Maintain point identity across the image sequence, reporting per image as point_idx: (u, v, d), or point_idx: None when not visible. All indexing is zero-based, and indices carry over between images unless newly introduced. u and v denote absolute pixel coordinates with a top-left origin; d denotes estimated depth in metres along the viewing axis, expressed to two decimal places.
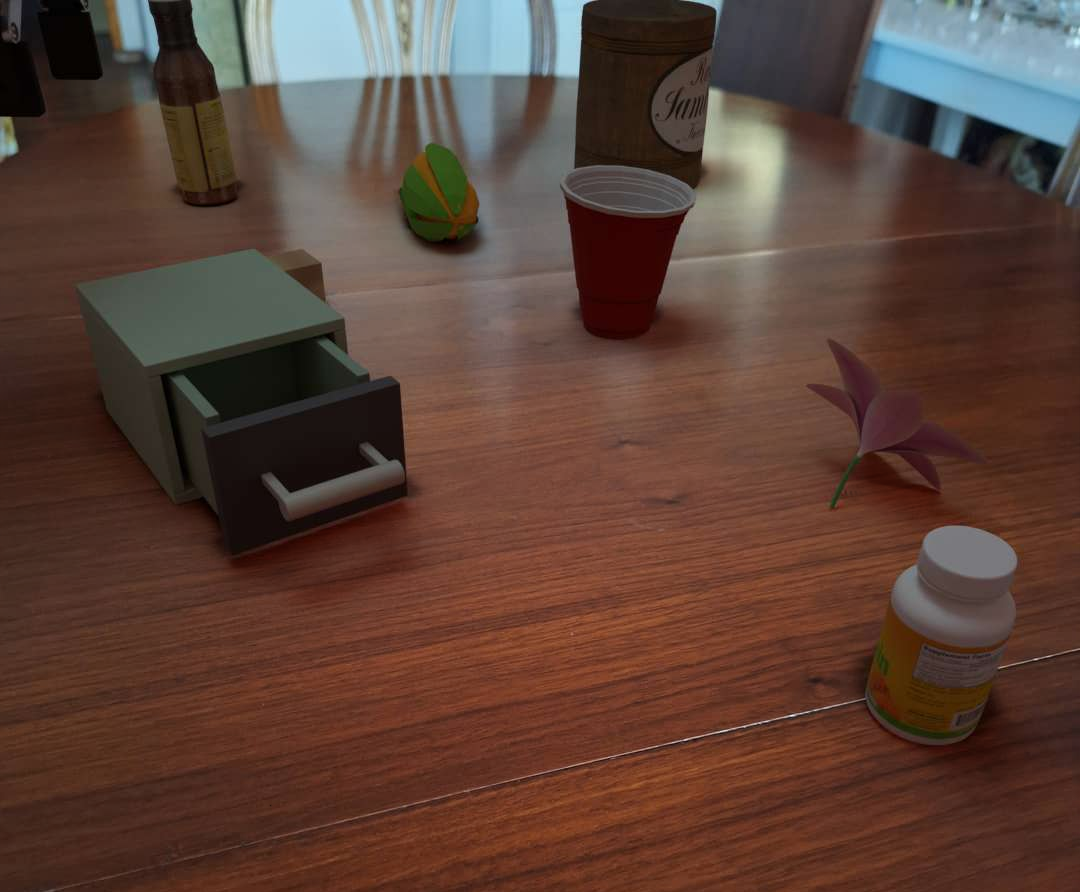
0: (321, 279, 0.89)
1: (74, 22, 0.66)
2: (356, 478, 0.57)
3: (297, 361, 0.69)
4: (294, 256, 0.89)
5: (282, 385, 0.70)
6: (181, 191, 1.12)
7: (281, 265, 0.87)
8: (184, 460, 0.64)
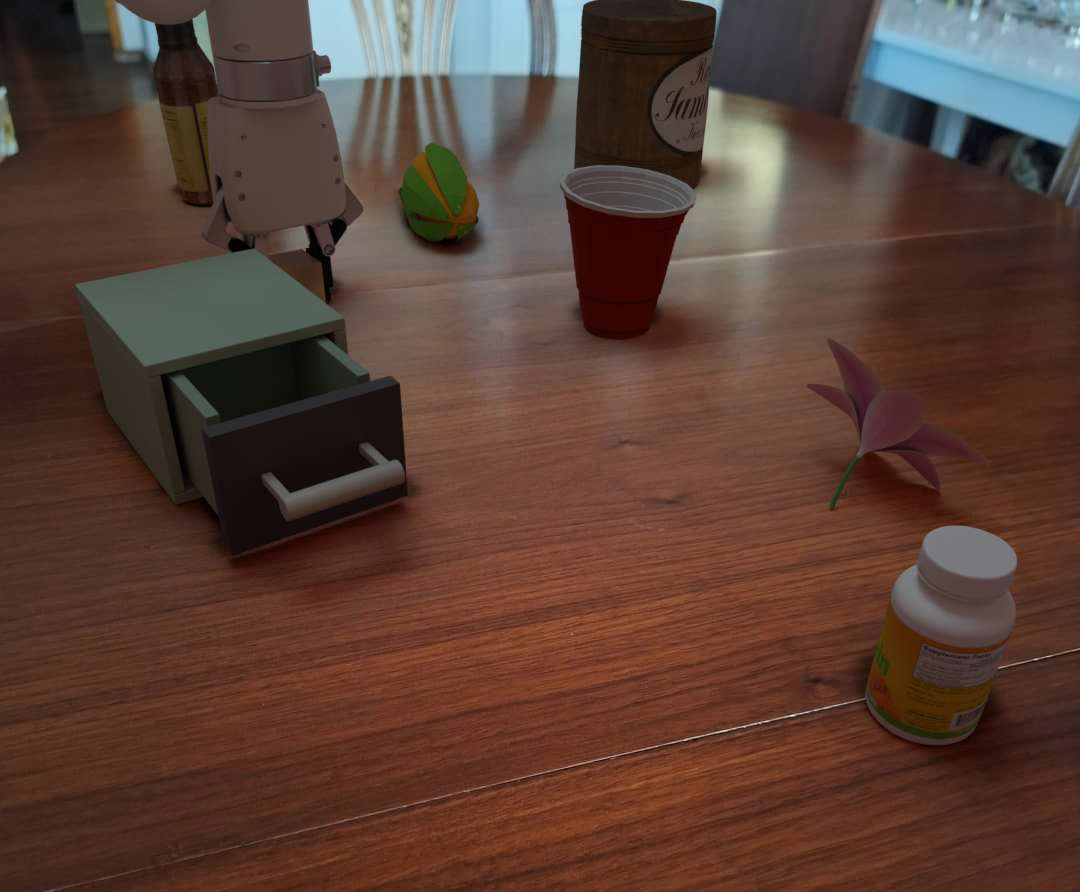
0: (321, 279, 0.89)
1: None
2: (356, 478, 0.57)
3: (297, 361, 0.69)
4: (294, 257, 0.89)
5: (282, 385, 0.70)
6: (181, 191, 1.12)
7: (281, 265, 0.87)
8: (184, 460, 0.64)
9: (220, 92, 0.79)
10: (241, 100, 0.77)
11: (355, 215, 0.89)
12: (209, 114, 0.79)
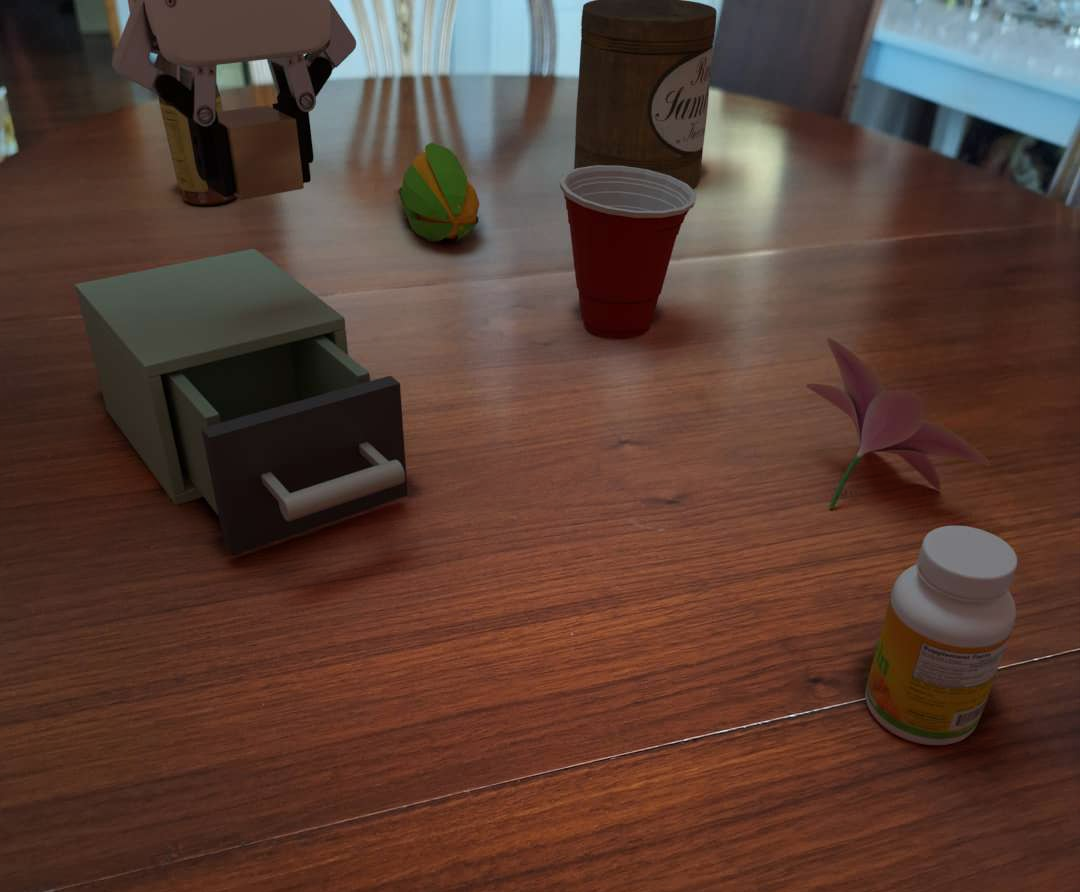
0: (296, 145, 0.60)
1: None
2: (356, 478, 0.57)
3: (297, 361, 0.69)
4: (256, 113, 0.61)
5: (282, 385, 0.70)
6: (181, 191, 1.12)
7: (236, 121, 0.59)
8: (184, 460, 0.64)
9: None
10: None
11: (345, 52, 0.61)
12: None
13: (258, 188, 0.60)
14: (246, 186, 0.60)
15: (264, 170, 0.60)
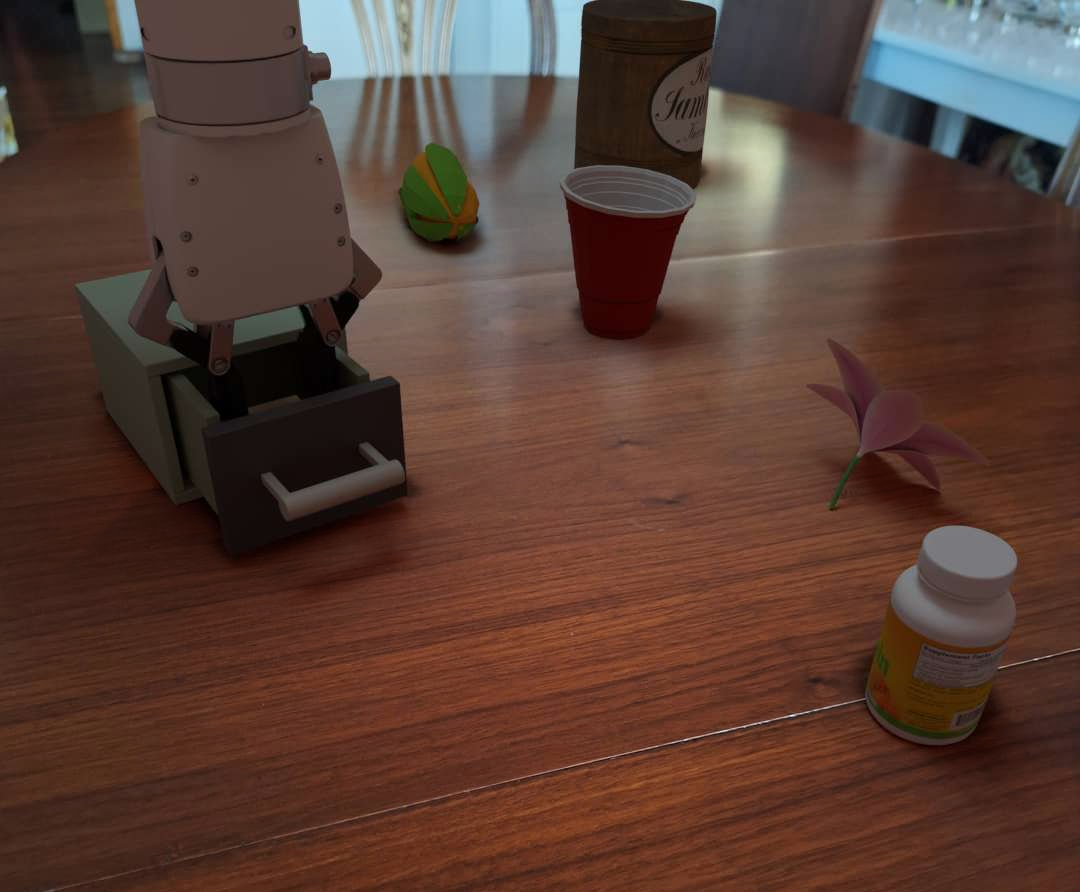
0: None
1: (313, 355, 0.60)
2: (356, 478, 0.57)
3: (297, 361, 0.69)
4: None
5: (282, 384, 0.70)
6: None
7: None
8: (184, 460, 0.64)
9: (157, 110, 0.50)
10: (189, 123, 0.49)
11: (371, 284, 0.61)
12: (141, 144, 0.51)
13: None
14: None
15: None
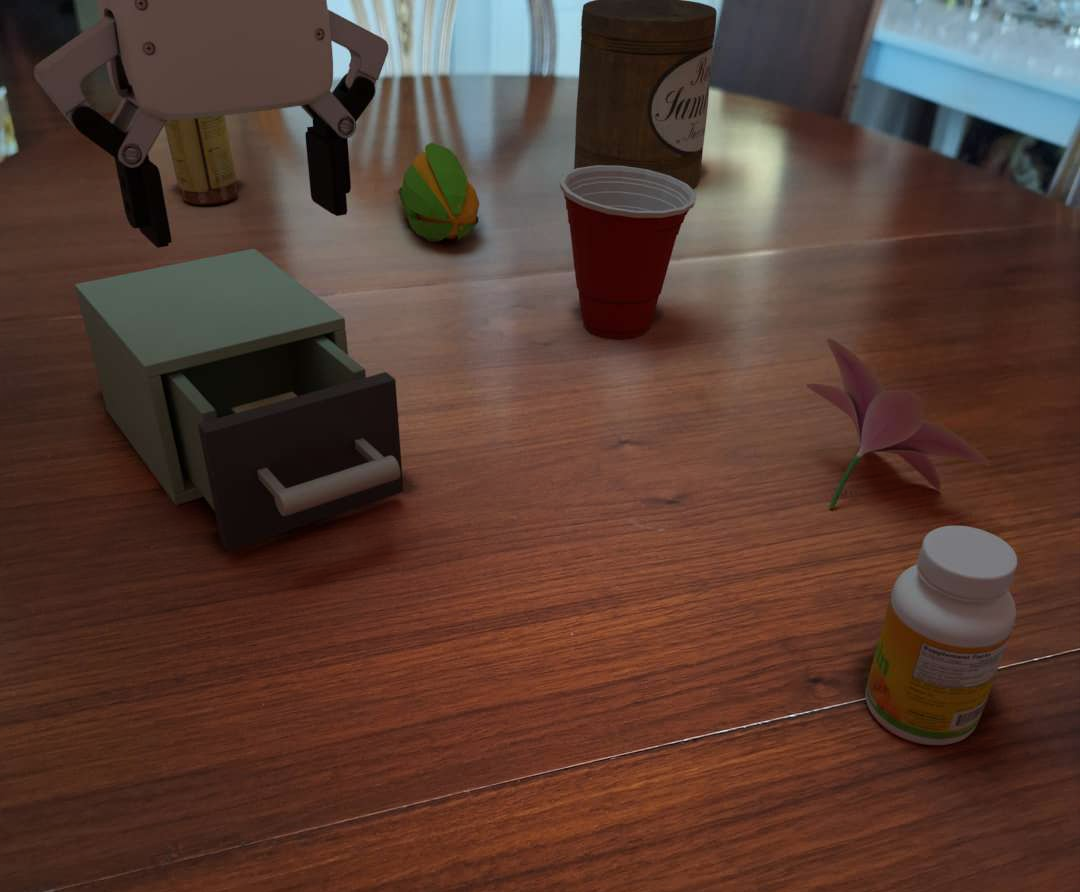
0: None
1: (323, 148, 0.55)
2: (351, 474, 0.57)
3: (294, 358, 0.69)
4: None
5: (279, 381, 0.70)
6: (181, 191, 1.12)
7: None
8: (181, 456, 0.65)
9: None
10: None
11: (380, 59, 0.54)
12: None
13: None
14: None
15: None
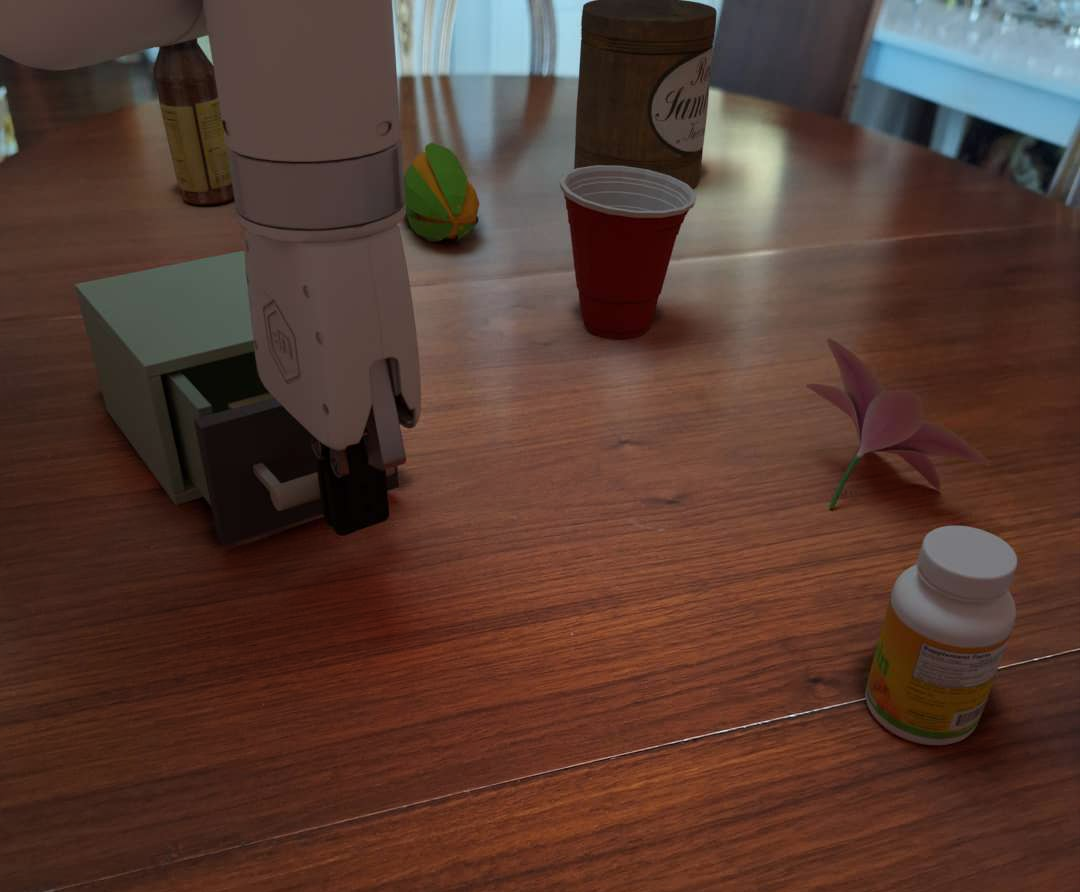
0: None
1: None
2: None
3: None
4: None
5: None
6: (181, 191, 1.12)
7: None
8: (178, 452, 0.65)
9: (355, 220, 0.44)
10: (395, 211, 0.46)
11: None
12: (353, 267, 0.44)
13: None
14: None
15: None
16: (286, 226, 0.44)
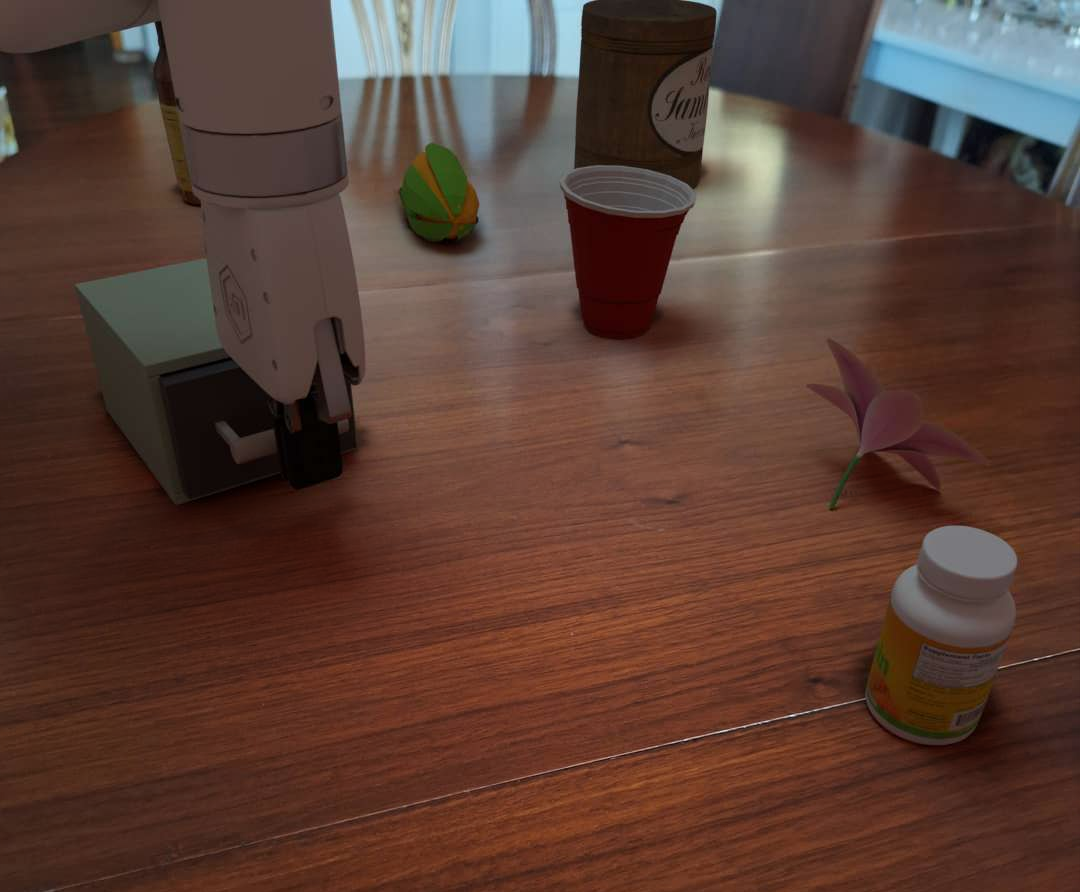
0: None
1: None
2: None
3: None
4: None
5: None
6: (181, 191, 1.12)
7: None
8: None
9: (297, 189, 0.48)
10: (337, 181, 0.50)
11: None
12: (296, 231, 0.48)
13: None
14: None
15: None
16: (234, 194, 0.48)
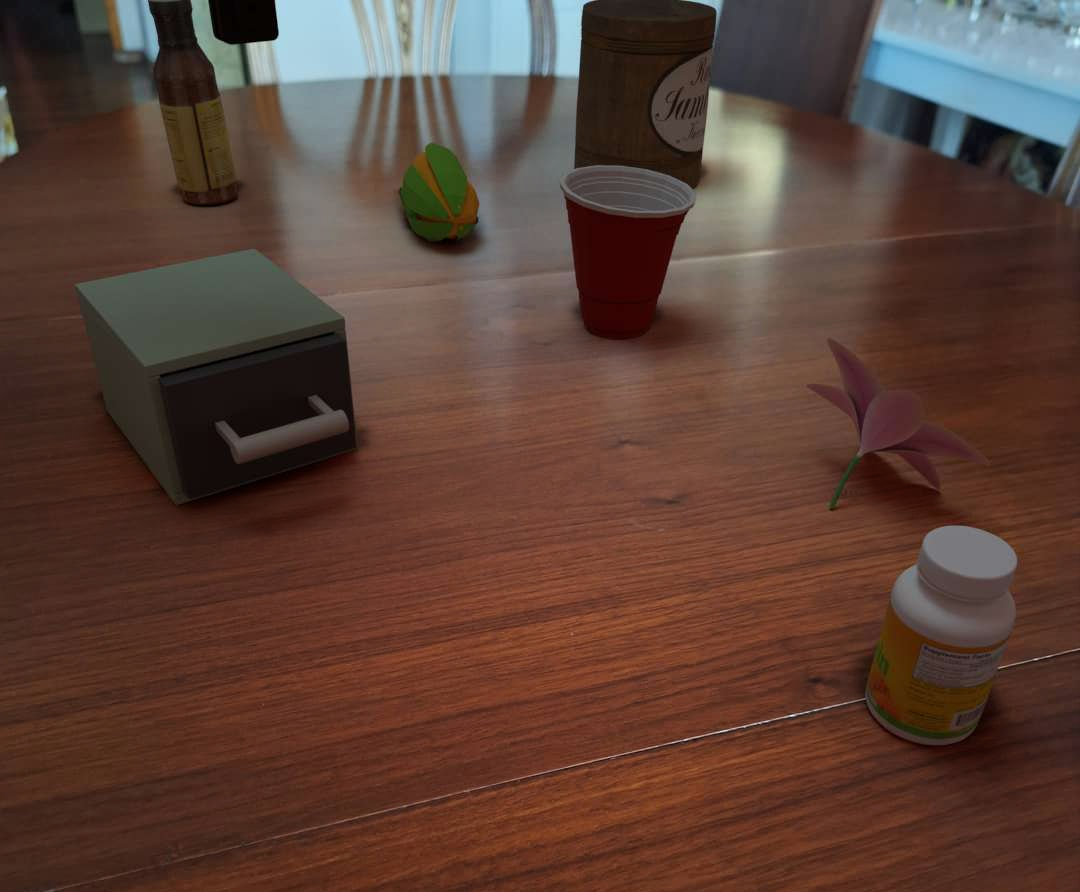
0: None
1: None
2: (302, 425, 0.61)
3: None
4: None
5: None
6: (181, 191, 1.12)
7: None
8: None
9: None
10: None
11: None
12: None
13: None
14: None
15: None
16: None
